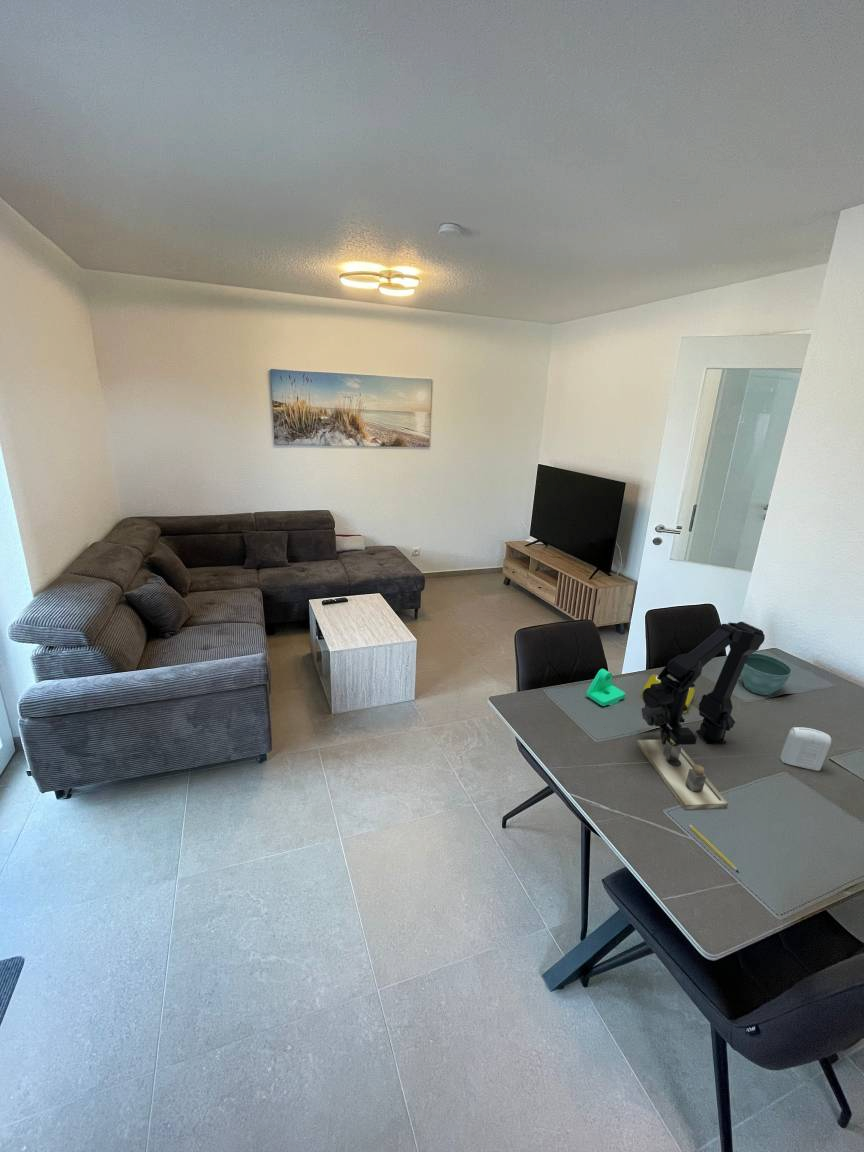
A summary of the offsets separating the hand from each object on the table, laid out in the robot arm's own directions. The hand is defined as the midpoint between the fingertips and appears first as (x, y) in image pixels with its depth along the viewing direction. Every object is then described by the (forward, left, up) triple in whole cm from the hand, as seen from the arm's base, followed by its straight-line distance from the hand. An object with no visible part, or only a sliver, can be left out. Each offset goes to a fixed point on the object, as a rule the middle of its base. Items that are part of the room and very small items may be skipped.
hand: (663, 743), depth 151 cm
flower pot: (-57, -33, -3) cm, 66 cm away
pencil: (+6, +34, -4) cm, 35 cm away
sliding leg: (0, +4, -1) cm, 4 cm away
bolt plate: (0, +9, -3) cm, 9 cm away
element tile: (-18, -28, -4) cm, 34 cm away
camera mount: (+5, -29, -4) cm, 29 cm away
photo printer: (-40, +7, -3) cm, 41 cm away
